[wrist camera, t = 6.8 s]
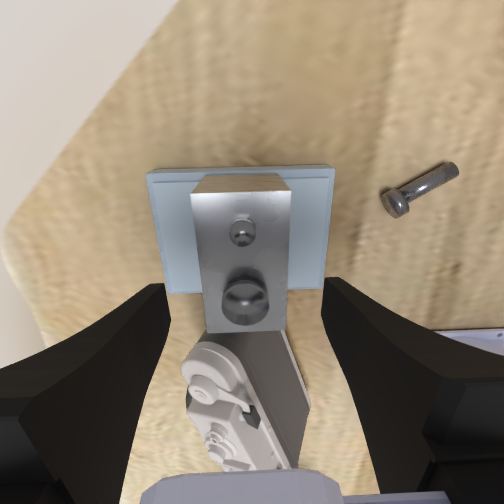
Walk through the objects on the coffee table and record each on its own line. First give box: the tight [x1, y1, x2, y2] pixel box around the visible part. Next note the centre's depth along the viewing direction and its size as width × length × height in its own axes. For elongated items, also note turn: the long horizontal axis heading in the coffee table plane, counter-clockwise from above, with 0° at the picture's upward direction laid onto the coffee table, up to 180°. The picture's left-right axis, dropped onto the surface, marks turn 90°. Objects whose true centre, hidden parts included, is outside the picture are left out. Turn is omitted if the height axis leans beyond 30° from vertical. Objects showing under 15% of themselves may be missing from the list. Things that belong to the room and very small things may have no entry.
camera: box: [181, 329, 311, 472], centre depth 22 cm, size 9×16×10 cm, turn 20°
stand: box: [145, 164, 335, 294], centre depth 19 cm, size 12×9×2 cm
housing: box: [190, 173, 291, 333], centre depth 15 cm, size 4×8×6 cm, turn 1°
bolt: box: [382, 162, 459, 218], centre depth 19 cm, size 5×2×2 cm, turn 121°
